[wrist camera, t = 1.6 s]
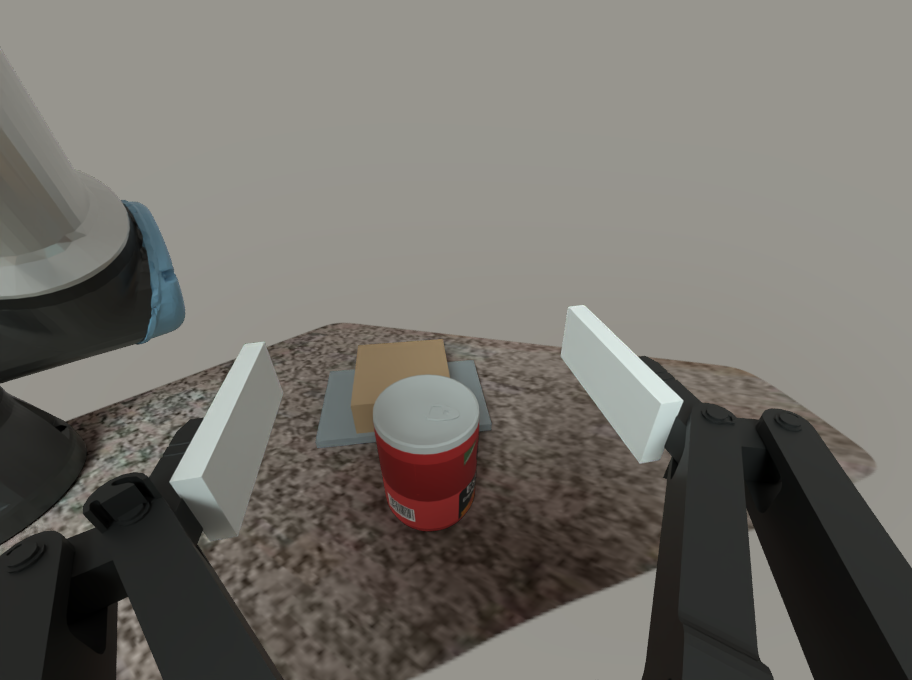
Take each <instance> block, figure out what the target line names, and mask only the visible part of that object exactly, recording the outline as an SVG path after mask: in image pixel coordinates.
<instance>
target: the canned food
mask: <svg viewBox="0 0 912 680" xmlns="http://www.w3.org/2000/svg"><path fill="white" fill-rule="evenodd" d="M479 418H480V412H479V405H478V401H477V399H476V397H475V395H474V393H473V392H472V391H471V390H470V389H469V388H468V387H466V386H465V385H464V384H462V383H461V382H459V381H457V380H455V379H452V378H449V377H445V376H440V375H428V374H427V375H416V376H411V377H407V378H404V379H401V380H399V381H397V382H395V383H393V384H391V385H390V386H388V387H387V388H386V389H385V390H384V391H383V392H382V393H381V394H380V395H379V396H378V398H377V399H376V401H375V404H374V407H373V424H374V432H375V438H376V443H377V449H378V454H379V460H380V465H381V471H382V476H383V482H384V487H385V493H386V498H387V502H388V505H389V507H390V509H391V510H392V512H393V513H394V514H395V515H396V517H397V518H398V519H399V520H400V521H402V522H403V523H404V524H405V525H407V526H409V527H411V528H413V529H417V530H421V531H438V530H442V529H445V528H448V527H450V526H452V525H454V524H455V523H457V522H458V521H459V520H460V519H461V518H462V517H463V516H464V515H465V513H466V512H467V511H468V509H469V508H470V506H471V504H472V502H473V498H474V494H475V481H476V467H477V453H478V439H479Z"/></svg>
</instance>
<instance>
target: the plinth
mask: <svg viewBox="0 0 912 680" xmlns="http://www.w3.org/2000/svg"><path fill="white" fill-rule="evenodd" d="M427 374H428V375H440V376H445V377H449V378H452V379H455V380H457V381H459V382H461V383H462V384H464V385H465V386H466V387H468V388H469V389H470V390H471V391H472V392H473V393H474V395H475V397H476V399H477V401H478V405H479V412H480V418H479V431H489V430H491V420H490V417H489V413H488V410H487V406H486V403H485V399H484V396H483V392H482V389H481V385H480V382H479V378H478V375H477V371H476V368H475V364H474V361H473V360H467V361H455V362H447V359H446V354H445V349H444V344H443V339H438V340H424V341H410V342H397V343H383V344H369V345H358V352H357V360H356V367H355V370H342V371H330V375H329V380H328V385H327V389H326V394H325V399H324V403H323V408H322V413H321V418H320V422H319V427H318V432H317V436H316V441H315V442H316V445H317V448H324V447H333V446H343V445H353V444H362V443H372V442H376V438H375V432H374V424H373V407H374V404H375V401H376V399H377V398H378V396H379V395H380V394H381V393H382V392H383V391H384V390H385V389H386V388H387V387H388V386H390V385H391V384H393V383H395V382H397V381H399V380H401V379H404V378H407V377H411V376H416V375H427Z"/></svg>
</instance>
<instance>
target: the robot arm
mask: <svg viewBox="0 0 912 680" xmlns="http://www.w3.org/2000/svg"><path fill="white" fill-rule="evenodd" d="M184 318H185V306H184V301H183V297H182V293H181V289H180V286H179V282H178V279H177V277H176V275H175V274H174V269H173V266H172V262H171V258H170V255H169V252H168V250H167V247H166V245H165V242H164V239H163V237H162V235H161V232H160V230H159V228H158V226H157V224H156V222H155V220H154V218H153V216H152V214H151V212H150V211H149V209H148V208H147V207H146V206H144V205H143V204H141V203H139V202H128V201H126V200H120V199H119V198H118V197H117V195H116V194H115V193H114V192H113V191H112V190H111V189H110V188H109V187H108V186H106V185H105V184H104V183H102V182H101V181H99V180H97V179H95V178H94V177H92V176H90V175H88V174H86V173H83V172H81V171H79V170H76V169H74V168H73V167H72V165H71V163H70V161H69V160H68V158H67V156H66V155H65V153H64V152H63V150H62V148H61V147H60V145H59V143H58V142H57V140H56V138H55V137H54V135H53V133H52V132H51V130H50V128H49V127H48V125H47V123H46V122H45V120H44V119H43V117H42V115H41V114H40V112H39V110H38V109H37V107H36V105H35V104H34V102H33V100H32V99H31V97H30V95H29V94H28V92H27V91H26V89H25V87H24V86H23V84H22V82H21V81H20V79H19V77H18V76H17V74H16V73H15V71H14V69H13V67H12V66H11V64H10V63H9V61H8V59H7V58H6V56H5V54H4V53H3V51H2V49H1V48H0V383H4V382H7V381H10V380H13V379H17V378H20V377H24V376H27V375H31V374H34V373H37V372H40V371H44V370H47V369H51V368H54V367H57V366H61V365H64V364H68V363H71V362H74V361H78V360H81V359H85V358H88V357H91V356H94V355H98V354H102V353H105V352H108V351H112V350H116V349H119V348H123V347H126V346H130V345H133V344H143V343H146V342H148V341H149V340H150V339H151V338H154V337H157V336H160V335H163V334H166V333H169V332H172V331H174V330H176V329H177V328H178V327H180V325H181V324H182V323H183V321H184ZM561 357H562V359H563V360H564V361H565V363H566V364H567V366H568V367H569V368H570V370H571V371H572V372H573V374H574V375H575V376H576V378H577V379H578V380H579V382H580V383H581V385H582V386H583V387H584V389H585V390H586V391H587V393H588V394H589V395H590V397H591V398H592V399H593V401H594V402H595V404H596V405H597V406H598V408H599V409H600V410H601V412H602V413H603V414H604V416H605V417H606V418H607V420H608V421H609V423H610V424H611V425H612V427H613V428H614V429H615V431H616V432H617V433H618V435H619V436H620V437H621V439H622V440H623V442H624V443H625V444H626V446H627V447H628V448H629V450H630V451H631V452H632V454H633V455H634V456H635V458H636V459H637V461H638V462H639V463H640V464H641V463H646V462H652V461H657V460H660V458H661V456H662V453H663V451H664V448H665V449H666V450H667V451H668V452H669V453H670V454H671V456H672V458H671V460H670V462H669V465H668V467H667V470H666V472H665V474H664V477H663V478H665V479H667V486H666V495H665V503H664V511H663V520H662V528H661V537H660V545H659V554H658V562H657V571H656V580H655V588H654V597H653V606H652V613H651V622H650V631H649V639H648V647H647V656H646V663H645V669H644V673H643V676H642V680H774V679H773V676H772V673H771V671H770V669H769V667H767V666H766V665H765V664H763V663H762V662H761V660H760V658H759V655H758V648H757V636H756V623H755V611H754V599H753V588H752V575H751V563H750V550H749V537H748V524H747V512H746V508H747V511H748V513H749V516H750V518H751V521H752V523H753V526H754V528H755V531H756V533H757V536H758V538H759V541H760V543H761V546H762V549H763V551H764V554H765V556H766V558H767V561H768V564H769V566H770V569H771V571H772V574H773V576H774V579H775V581H776V584H777V587H778V589H779V592H780V594H781V597H782V599H783V602H784V604H785V607H786V609H787V612H788V614H789V617H790V619H791V622H792V625H793V627H794V630H795V632H796V635H797V637H798V640H799V642H800V645H801V647H802V650H803V652H804V655H805V657H806V660H807V663H808V665H809V668H810V670H811V673H812V675H813V678H814V680H912V568H911V567H910V565H909V564H908V562H907V561H906V559H905V558H904V557H903V555H902V554H901V552H900V551H899V549H898V548H897V547H896V545H895V544H894V542H893V541H892V539H891V538H890V536H889V535H888V533H887V532H886V531H885V529H884V528H883V526H882V525H881V523H880V522H879V521H878V519H877V518H876V516H875V515H874V513H873V512H872V511H871V509H870V508H869V506H868V505H867V503H866V502H865V500H864V499H863V498H862V496H861V495H860V493H859V492H858V490H857V489H856V488H855V486H854V485H853V483H852V482H851V480H850V479H849V477H848V476H847V474H846V473H845V472H844V470H843V469H842V467H841V466H840V464H839V463H838V462H837V460H836V459H835V457H834V456H833V454H832V453H831V451H830V450H829V449H828V447H827V446H826V444H825V443H824V441H823V440H822V439H821V437H820V436H819V434H818V433H817V431H816V430H815V428H814V427H813V426H812V425H811V424H810V423H809V422H808V421H807V420H805V419H804V418H802V417H801V416H799V415H797V414H795V413H793V412H790V411H786V410H782V409H768V410H765V411H764V413H763V414H762V416H761V418H760V419H759V420H756V419H745V418H736V417H735V416H734V415H733V414H732V413H731V412H730V411H728V410H726V409H725V408H723V407H720V406H718V405H715V404H709V403H702V402H701V401H699V400H698V399H697V398H696V397H695V396H694V395H693V394H692V393H691V392H690V391H689V390H687V389H686V388H685V387H684V386H683V385H682V384H681V383H680V382H679V381H678V380H675V378H674V377H673V376H672V375H671V374H670V373H667V370H666V369H664V368H663V367H662V366H661V365H660V364H659V363H658V362H656V361H654V360H652V359H650V358H648V357H646V356H641V357H638V356H637V355H636V354H634V353H633V352H632V351H631V350H630V349H629V348H628V347H627V346H626V345H625V344H624V343H623V342H622V341H621V340H620V339H619V338H618V337H617V336H616V335H615V334H614V333H613V332H612V331H611V330H609V329H608V328H607V327H606V326H605V325H604V324H603V323H602V322H601V321H600V320H599V319H598V318H597V317H596V316H595V315H594V314H593V313H592V312H591V311H590V310H589V309H588V308H587V307H586V306H584V305H580V306H571V307H568V312H567V318H566V325H565V332H564V338H563V344H562V351H561ZM282 396H283V391H282V388H281V386H280V383H279V380H278V377H277V375H276V372H275V369H274V366H273V364H272V361H271V358H270V355H269V352H268V350H267V347H266V344H265V342H257V343H247V344H244V346H243V348H242V349H241V351H240V353H239V355H238V357H237V359H236V360H235V362H234V364H233V366H232V368H231V370H230V371H229V373H228V375H227V377H226V379H225V381H224V382H223V384H222V386H221V388H220V390H219V392H218V393H217V395H216V397H215V399H214V401H213V403H212V404H211V406H210V408H209V410H208V412H207V414H206V415H205V417H204V418H198V419H191V420H189V421H188V422H187V423H186V424H185V425H184V426H183V427H181V428H180V429H179V430H178V431H177V432H176V434H175V436H174V437H173V439H172V441H171V442H170V444H169V447H167V449H166V450H165V452H164V454H163V457H162V458H161V459H160V460H159V462H158V464H157V465H156V467H155V469H154V470H153V472H152V474H151V475H150V477H149V478H148V476H146V475H145V474H143V473H136V472H133V473H129V474H124V475H121V476H119V477H116V478H114V479H112V480H110V481H108V482H107V483H105V484H104V485H102V486H101V487H99V488H98V489H97V490H96V491H95V492H94V493H93V494H92V495H91V496H89V498H88V499H87V501H86V503H85V504H84V506H83V515H84V516H85V517H86V518H87V519H88V520H89V521H90V522H91V523H92V524H93V525H94V526H95V527H96V528H93V529H91V530H88V531H86V532H83V533H81V534H78V535H75V536H73V537H70V538H68V539H66V538H65V537H64V536H63V535H62V534H60V533H58V532H56V531H44V532H41V533H38V534H35V535H32V536H30V537H28V538H26V539H24V540H22V541H20V542H19V543H17V544H15V545H14V546H13V547H11V548H10V549H9V550H7V551H6V552H5V553H3V554H2V555H1V556H0V680H116V658H117V611H118V601H120V600H122V599H124V598H126V597H129V600H130V602H131V604H132V607H133V609H134V612H135V614H136V616H137V619H138V621H139V623H140V626H141V628H142V631H143V633H144V635H145V638H146V640H147V642H148V645H149V647H150V650H151V652H152V654H153V657H154V659H155V661H156V664H157V666H158V669H159V671H160V673H161V676H162V678H163V680H284V679H283V678H282V676H281V674H280V673H279V671H278V670H277V668H276V667H275V665H274V663H273V662H272V660H271V659H270V657H269V656H268V654H267V652H266V651H265V649H264V648H263V646H262V645H261V643H260V641H259V640H258V638H257V637H256V635H255V634H254V632H253V630H252V629H251V627H250V626H249V624H248V623H247V621H246V619H245V618H244V616H243V615H242V613H241V612H240V610H239V608H238V607H237V605H236V604H235V602H234V601H233V599H232V597H231V596H230V594H229V593H228V591H227V590H226V588H225V586H224V585H223V583H222V582H221V580H220V579H219V577H218V575H217V574H216V572H215V571H214V569H213V568H212V566H211V564H210V563H209V561H208V560H207V558H206V556H205V555H204V553H203V552H202V550H201V549H200V547H199V546H198V545H197V543H198V541H199V538H200V536H201V533H202V531H203V532H204V533H205V534H206V536H207V537H208V539H209V540H210V541H215V540H220V539H226V538H231V537H237V536H238V534H239V531H240V528H241V525H242V522H243V518H244V515H245V512H246V509H247V506H248V503H249V500H250V496H251V493H252V490H253V487H254V484H255V481H256V478H257V474H258V471H259V468H260V465H261V462H262V459H263V455H264V452H265V449H266V446H267V443H268V440H269V437H270V433H271V430H272V427H273V424H274V421H275V418H276V415H277V411H278V408H279V405H280V402H281V399H282ZM86 454H87V449H86V445H85V442H84V441H83V439H82V438H81V437H80V436H79V435H78V434H77V432H76V431H75V430H74V429H73V428H72V427H71V426H70V425H69V424H68V423H66V422H65V421H63V420H61V419H59V418H57V417H55V416H53V415H51V414H49V413H47V412H45V411H43V410H41V409H39V408H37V407H35V406H33V405H31V404H29V403H27V402H25V401H23V400H20V399H18V398H17V397H15V396H12V395H10V394H8V393H7V392H6V391H5V390H4V389H3V388H2V387H1V386H0V544H1V543H2V542H4V541H6V540H7V539H9V538H10V537H12V536H13V535H15V534H16V533H18V532H19V531H21V530H22V529H24V528H25V527H26V526H28V525H29V524H30V523H32V522H33V521H34V520H36V519H37V518H38V517H39V516H41V515H42V514H43V513H44V512H45V511H46V510H48V509H49V508H50V507H51V506H52V505H53V504H54V503H55V502H56V501H57V500H58V499H59V498H60V497H61V496H62V495H63V494H64V493H65V492H66V491H67V490H68V489H69V487H70V486H71V485H72V484H73V482H74V481H75V480H76V478H77V476H78V475H79V473H80V471H81V470H82V468H83V465H84V463H85V460H86ZM667 477H668V478H667Z"/></svg>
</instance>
